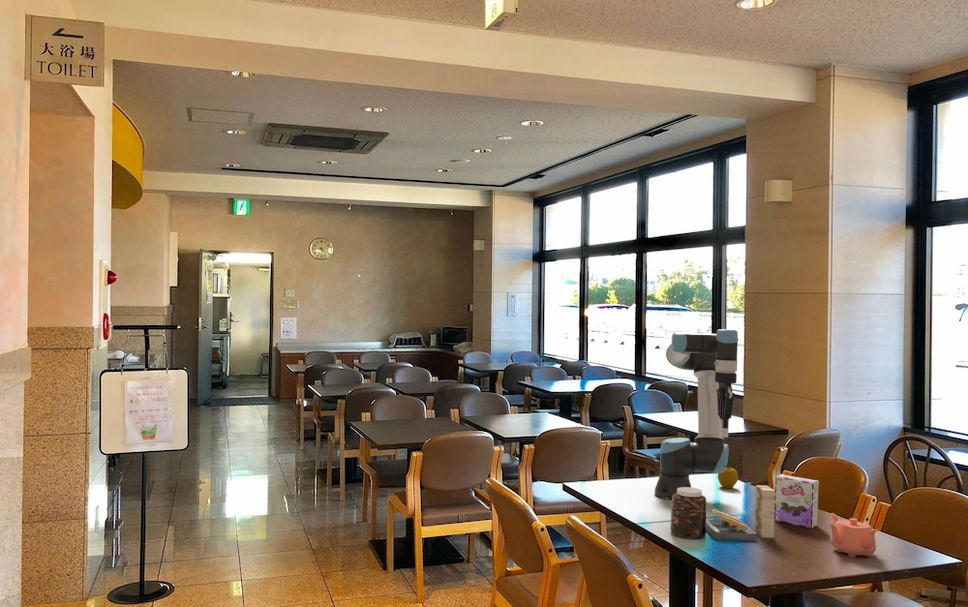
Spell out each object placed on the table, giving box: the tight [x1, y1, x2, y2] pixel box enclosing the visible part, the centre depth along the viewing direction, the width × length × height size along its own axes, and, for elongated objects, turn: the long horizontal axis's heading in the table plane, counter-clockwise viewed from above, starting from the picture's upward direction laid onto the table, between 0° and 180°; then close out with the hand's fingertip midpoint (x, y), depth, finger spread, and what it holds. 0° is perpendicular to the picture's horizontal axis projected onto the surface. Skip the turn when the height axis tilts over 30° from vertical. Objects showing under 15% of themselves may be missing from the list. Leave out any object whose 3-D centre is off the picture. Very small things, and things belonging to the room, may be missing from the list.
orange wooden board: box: [717, 514, 748, 530], centre depth 259 cm, size 3×9×1 cm, turn 91°
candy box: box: [774, 474, 820, 529], centre depth 279 cm, size 14×6×16 cm, turn 47°
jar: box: [670, 486, 707, 540], centre depth 260 cm, size 12×12×15 cm
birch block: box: [753, 484, 775, 539], centre depth 262 cm, size 7×4×16 cm, turn 0°
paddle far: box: [711, 508, 741, 522], centre depth 266 cm, size 3×9×1 cm, turn 91°
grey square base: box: [706, 519, 758, 542], centre depth 262 cm, size 15×14×4 cm
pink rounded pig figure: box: [827, 512, 879, 558], centre depth 245 cm, size 14×14×11 cm
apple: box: [717, 467, 739, 489], centre depth 332 cm, size 8×8×9 cm
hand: (723, 436), depth 278 cm, fingers closed
